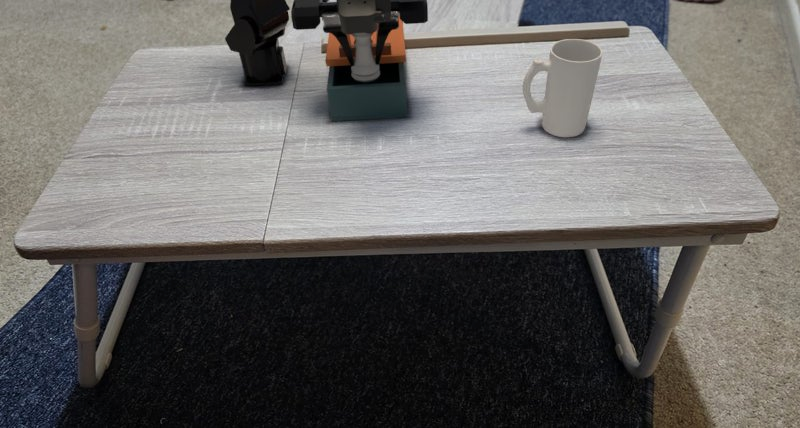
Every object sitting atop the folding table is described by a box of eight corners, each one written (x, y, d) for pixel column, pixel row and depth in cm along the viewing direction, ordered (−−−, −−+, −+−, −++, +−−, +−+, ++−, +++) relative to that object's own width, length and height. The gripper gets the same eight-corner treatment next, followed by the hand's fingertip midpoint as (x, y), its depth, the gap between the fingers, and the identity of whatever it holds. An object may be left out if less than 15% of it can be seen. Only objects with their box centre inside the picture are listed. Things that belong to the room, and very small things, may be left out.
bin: (406, 117, 88) (405, 84, 85) (331, 121, 88) (326, 89, 85) (402, 59, 102) (400, 29, 98) (336, 63, 102) (332, 33, 98)
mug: (579, 111, 87) (594, 37, 79) (592, 137, 82) (609, 60, 74) (513, 116, 87) (521, 41, 79) (522, 141, 82) (531, 65, 74)
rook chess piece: (377, 67, 90) (373, 17, 85) (383, 81, 87) (380, 30, 81) (349, 71, 89) (343, 21, 84) (354, 85, 86) (349, 34, 81)
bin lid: (405, 62, 90) (405, 46, 88) (326, 66, 90) (324, 50, 88) (401, 9, 105) (400, -6, 103) (333, 13, 105) (331, -2, 103)
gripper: (277, -17, 70) (297, 95, 81) (430, -25, 70) (431, 88, 81) (287, -48, 78) (304, 57, 89) (424, -55, 78) (425, 51, 89)
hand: (364, 64), depth 87 cm, fingers closed on rook chess piece, 3 cm apart
